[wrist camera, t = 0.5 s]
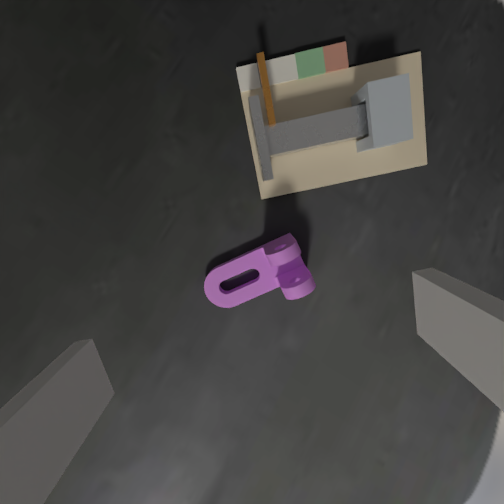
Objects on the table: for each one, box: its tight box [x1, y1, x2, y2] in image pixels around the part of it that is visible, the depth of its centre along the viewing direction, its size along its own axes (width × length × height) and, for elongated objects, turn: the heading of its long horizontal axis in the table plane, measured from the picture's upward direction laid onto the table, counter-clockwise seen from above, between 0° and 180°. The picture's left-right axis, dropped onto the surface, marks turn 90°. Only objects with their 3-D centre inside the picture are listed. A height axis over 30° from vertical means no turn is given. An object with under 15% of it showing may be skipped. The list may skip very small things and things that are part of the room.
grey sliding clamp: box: [248, 52, 369, 182], centre depth 29 cm, size 12×14×5 cm
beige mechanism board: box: [236, 41, 427, 199], centre depth 29 cm, size 14×20×5 cm
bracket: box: [204, 233, 316, 308], centre depth 32 cm, size 13×6×7 cm, turn 115°
